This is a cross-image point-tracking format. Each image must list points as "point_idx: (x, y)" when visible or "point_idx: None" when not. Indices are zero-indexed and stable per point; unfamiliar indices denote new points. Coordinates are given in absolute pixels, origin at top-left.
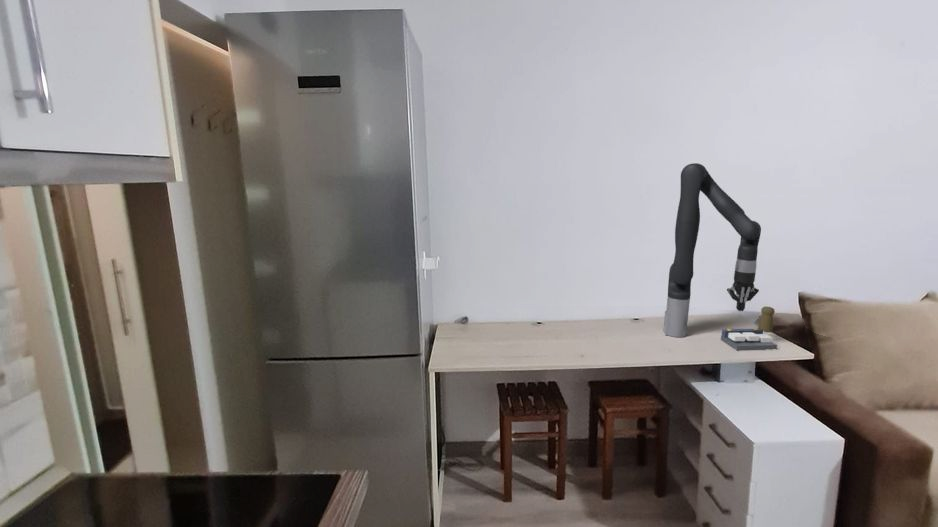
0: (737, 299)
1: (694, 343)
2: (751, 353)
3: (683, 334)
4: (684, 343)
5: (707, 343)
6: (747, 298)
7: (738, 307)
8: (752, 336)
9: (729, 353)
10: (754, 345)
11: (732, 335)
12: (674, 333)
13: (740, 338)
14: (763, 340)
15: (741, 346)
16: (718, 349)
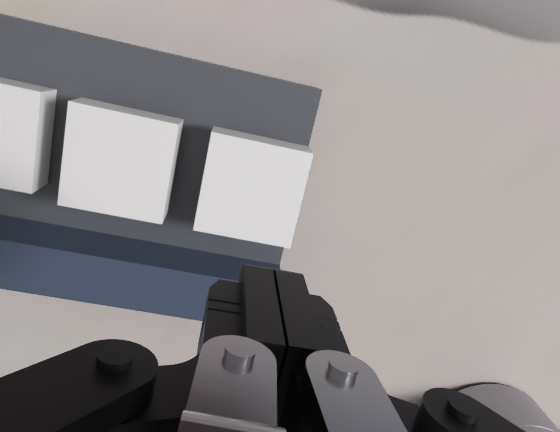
0: (470, 414)
1: (494, 279)
2: (250, 3)
3: (486, 395)
4: (556, 294)
5: (411, 258)
6: (147, 416)
7: (333, 317)
8: (142, 116)
9: (416, 56)
10: (170, 57)
11: (303, 191)
12: (544, 413)
13: (259, 138)
14: (36, 86)
15: (286, 82)
16: (429, 145)
